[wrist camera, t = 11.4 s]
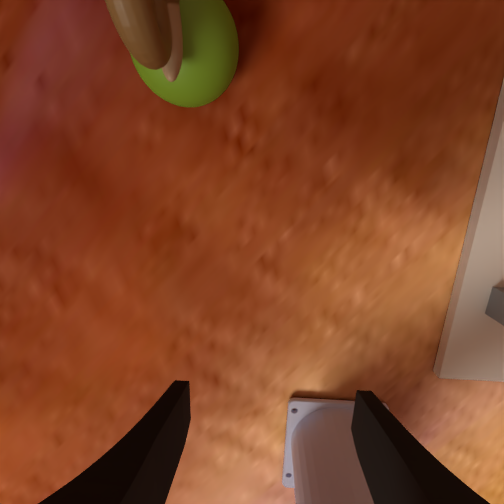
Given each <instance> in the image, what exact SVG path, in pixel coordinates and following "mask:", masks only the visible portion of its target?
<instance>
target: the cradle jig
mask: <svg viewBox="0 0 504 504" xmlns="http://www.w3.org/2000/svg"><path fill="white" fill-rule="evenodd" d="M433 372H434V373H435V374H436V375H437V377H438V378H443V379H462V380H481V381H500V382H504V79H503V83H502V87H501V92H500V96H499V100H498V104H497V108H496V112H495V116H494V120H493V125H492V129H491V133H490V137H489V141H488V145H487V149H486V154H485V158H484V162H483V166H482V170H481V174H480V178H479V182H478V187H477V191H476V195H475V199H474V203H473V207H472V211H471V215H470V220H469V224H468V228H467V232H466V236H465V240H464V244H463V249H462V253H461V257H460V261H459V265H458V269H457V273H456V277H455V282H454V286H453V290H452V294H451V298H450V302H449V306H448V310H447V315H446V319H445V323H444V327H443V331H442V335H441V339H440V344H439V348H438V352H437V356H436V360H435V364H434V368H433Z"/></svg>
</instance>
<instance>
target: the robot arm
mask: <svg viewBox="0 0 504 504" xmlns="http://www.w3.org/2000/svg"><path fill="white" fill-rule="evenodd" d="M293 408H295V410H293ZM190 420H191V415H190V389H189V381H177V380H175V381H174V382H173V383H172V384H171V385H170V387H169V388H168V389H167V390H166V392H165V393H164V394H163V395H162V396H161V397H160V399H159V400H158V401H157V402H156V403H155V404H154V406H153V407H152V408H151V409H150V410H149V411H148V412H147V413H146V414H145V415H144V417H143V418H142V419H141V420H140V421H139V422H138V423H137V424H136V425H135V426H134V427H133V428H132V429H131V430H130V431H129V432H128V433H127V434H126V435H125V436H124V437H123V438H122V439H121V440H120V441H119V442H118V443H117V444H115V445H114V446H113V447H112V448H111V449H110V450H109V451H108V452H106V453H105V454H104V455H103V456H102V457H101V458H100V459H98V460H97V461H96V462H95V463H93V464H92V465H91V466H90V467H88V468H87V469H86V470H85V471H83V472H82V473H81V474H80V475H78V476H77V477H76V478H74V479H73V480H72V481H70V482H69V483H68V484H66V485H65V486H63V487H62V488H60V489H59V490H58V491H56V492H55V493H53V494H52V495H50V496H49V497H47V498H46V499H44V500H43V501H41V502H40V503H38V504H165V502H166V499H167V496H168V493H169V490H170V487H171V484H172V481H173V478H174V475H175V472H176V470H177V467H178V464H179V461H180V458H181V455H182V452H183V449H184V446H185V442H186V438H187V433H188V429H189V424H190ZM282 483H283V485H284V486H285V487H288V488H294V492H295V503H296V504H490V503H489V502H487V501H486V500H485V499H483V498H482V497H481V496H479V495H478V494H477V493H476V492H474V491H473V490H472V489H471V488H469V487H468V486H467V485H466V484H464V483H463V482H462V481H461V480H460V479H459V478H457V477H456V476H455V475H454V474H453V473H452V472H450V471H449V470H448V469H447V468H446V467H445V466H444V465H442V464H441V463H440V462H439V461H438V460H437V459H436V458H435V457H434V456H433V455H432V454H431V453H430V452H429V451H427V450H426V449H425V448H424V447H423V446H422V445H421V444H420V443H419V442H418V441H417V440H416V439H415V438H414V437H413V436H412V435H411V434H410V433H409V432H408V431H407V430H406V428H405V427H404V426H403V425H402V424H401V423H400V422H399V421H398V420H397V419H396V418H395V417H394V416H393V414H392V413H391V412H390V411H389V408H388V406H387V404H386V403H383V402H381V401H380V400H379V399H378V398H377V397H376V396H375V395H374V393H373V392H372V391H360V390H357V392H356V399H355V401H347V400H329V399H311V398H291V399H290V400H289V401H288V412H287V424H286V437H285V450H284V463H283V475H282Z"/></svg>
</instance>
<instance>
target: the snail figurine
mask: <svg viewBox="0 0 504 504" xmlns="http://www.w3.org/2000/svg"><path fill="white" fill-rule="evenodd" d="M105 2H106V5H107V8H108V11H109V13H110V16H111V18H112V20H113V23H114V25H115V27H116V29H117V31H118V33H119V35H120V37H121V39H122V41H123V43H124V44H125V46H126V48H127V49H128V50H129V52H130V54H131V58H132V60H133V63H134V65H135V67H136V69H137V71H138V73H139V75H140V76H141V78H142V79H143V81H144V82H145V83H146V85H147V86H148V87H149V88H150V89H151V90H152V91H153V92H154V93H155V94H157V95H158V96H159V97H161V98H162V99H164V100H166V101H168V102H170V103H172V104H175V105H178V106H182V107H198V106H203V105H206V104H208V103H210V102H212V101H214V100H215V99H217V98H218V97H219V96H220V95H221V94H222V93H223V92H224V91H225V90H226V89H227V87H228V86H229V84H230V83H231V81H232V79H233V76H234V74H235V71H236V68H237V63H238V55H239V43H238V35H237V30H236V26H235V23H234V20H233V17H232V15H231V13H230V11H229V9H228V7H227V6H226V4H225V2H224V1H223V0H105Z"/></svg>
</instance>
